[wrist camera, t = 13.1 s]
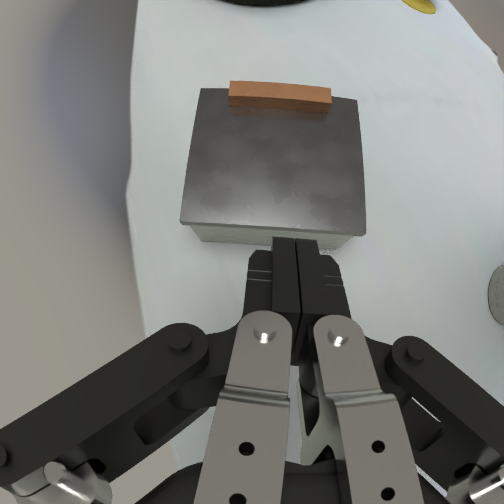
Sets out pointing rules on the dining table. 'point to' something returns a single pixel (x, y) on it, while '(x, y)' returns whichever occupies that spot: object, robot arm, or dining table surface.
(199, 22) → the dining table surface
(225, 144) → the lid
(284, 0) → the pressure cooker
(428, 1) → the candle
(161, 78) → the dining table surface
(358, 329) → the robot arm
